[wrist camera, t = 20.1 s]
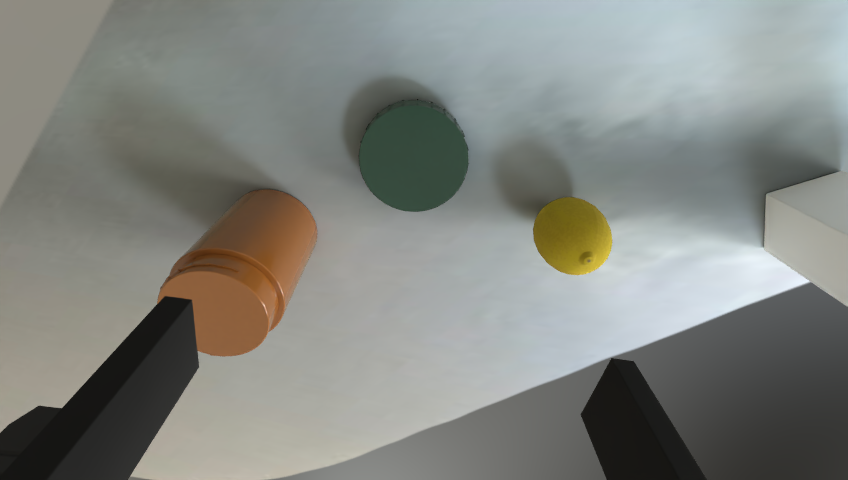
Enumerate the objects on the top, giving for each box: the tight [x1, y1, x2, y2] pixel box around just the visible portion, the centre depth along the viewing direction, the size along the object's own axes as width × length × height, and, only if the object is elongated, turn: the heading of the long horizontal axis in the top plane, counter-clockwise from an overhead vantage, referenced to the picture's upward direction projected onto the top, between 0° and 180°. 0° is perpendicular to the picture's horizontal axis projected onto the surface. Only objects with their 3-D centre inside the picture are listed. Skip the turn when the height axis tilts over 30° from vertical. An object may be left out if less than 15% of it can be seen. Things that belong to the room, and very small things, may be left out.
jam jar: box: [157, 189, 317, 357], centre depth 31 cm, size 8×8×12 cm
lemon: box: [533, 197, 612, 275], centre depth 32 cm, size 6×6×8 cm
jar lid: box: [359, 99, 469, 212], centre depth 32 cm, size 8×8×2 cm
